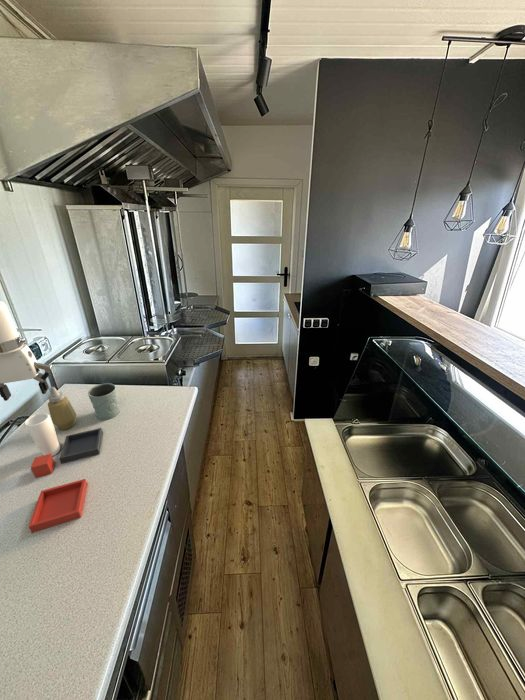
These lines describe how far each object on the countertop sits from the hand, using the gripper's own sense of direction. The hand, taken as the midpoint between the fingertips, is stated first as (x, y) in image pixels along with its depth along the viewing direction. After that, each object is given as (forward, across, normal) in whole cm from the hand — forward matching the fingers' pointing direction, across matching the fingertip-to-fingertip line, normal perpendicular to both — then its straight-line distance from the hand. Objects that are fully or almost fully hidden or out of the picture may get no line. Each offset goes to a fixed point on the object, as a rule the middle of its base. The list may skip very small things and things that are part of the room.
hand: (27, 394), depth 88 cm
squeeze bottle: (+26, 0, -17) cm, 31 cm away
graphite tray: (+26, -9, -1) cm, 27 cm away
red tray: (+26, -7, +23) cm, 35 cm away
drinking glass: (+26, +1, -3) cm, 26 cm away
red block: (+26, +1, +6) cm, 27 cm away
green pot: (+26, -16, -19) cm, 36 cm away
